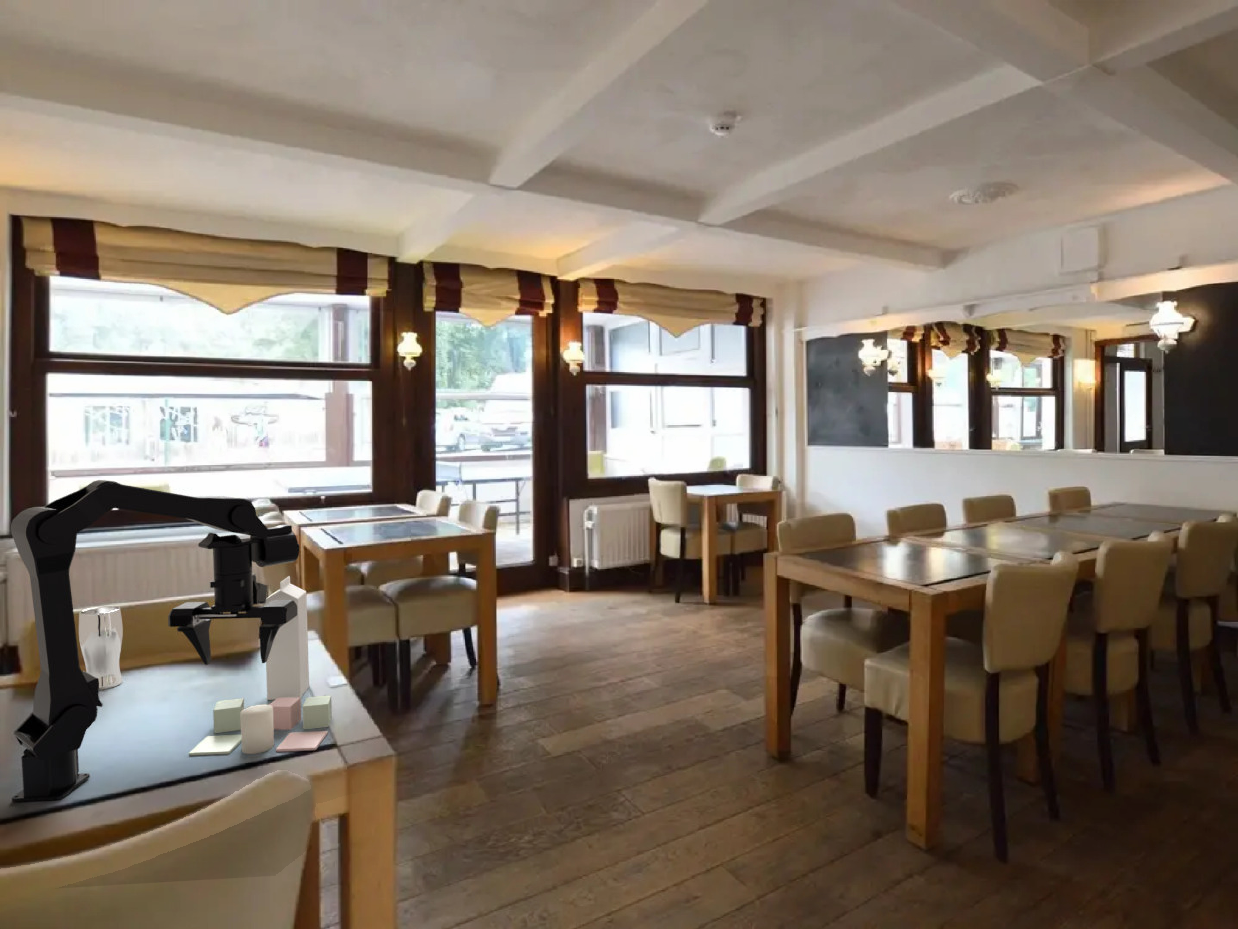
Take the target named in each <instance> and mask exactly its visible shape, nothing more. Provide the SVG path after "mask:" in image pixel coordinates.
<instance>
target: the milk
mask: <svg viewBox="0 0 1238 929" xmlns="http://www.w3.org/2000/svg"><path fill="white" fill-rule="evenodd" d="M279 586H280V587H279V589H277V590H276V591H275V592H273V593H272V594H270V595H269V596H268V597H266V603H264V604H263V606H265V605H266V604H268V603H270V602H271V601H273V600H293V601H294V602H295V603H296V604H297V613H298V615H297V616H296V617H294V618H293V619H291V620H290V621H289V622H287V623H285V624H284V625H283V626H281V627H280V628H279V630H278V632H277V634H276V636H275V638H274V641H273V644H272V647H271V650H270V653H269V656H268V659H267V661H266V662H265V671H266V677H265V678H266V693H267V694H266V696H267V697H266V698H267V700H268V701H270V700H271V701H272V700H273V701H274V700H275V699H277V698H287V697H301V698H302V697H303V696H304V694H305V692H306V691H307V690H308V688H309V687H310V669H309V668H310V666H309V663H310V662H309V636H308V634H309V633H308V606H307V605H308V604H307V603H308V602H307V601H308V600H307V591H306V590H304V589H303V588H300V587H298V586H296V585H295V584H292V583H291V576H290V575H288V576H287V577H285V578H284V579H282V580H281V581H280V583H279Z"/></svg>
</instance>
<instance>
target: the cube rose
mask: <svg viewBox="0 0 1238 929" xmlns="http://www.w3.org/2000/svg"><path fill="white" fill-rule="evenodd" d="M268 705H271V706H272V707H273V726H274V731H276V730H278V731H279V730H292V729H293V728H294V727H295V726H296V725H297V724H299V723H300V722H301V721H303V717H302V697H287V698H277V699H275V700H273V701H272V702H270V703H269V704H268Z"/></svg>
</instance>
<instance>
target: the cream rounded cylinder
mask: <svg viewBox="0 0 1238 929" xmlns="http://www.w3.org/2000/svg"><path fill="white" fill-rule="evenodd" d="M240 718H241V730H240V735H241V742H240V743H241V752H242V753H243V754H246V755H247V754H248V755H256V754H261V753H264V752H267V751H269V750H271V749H272V748H273V747H274V746H275V730H274V726H273V707H272V706H271V705H269V704H257V705H252V706H248V707H246V708H245V707H244V710H242V711H241V712H240Z"/></svg>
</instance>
